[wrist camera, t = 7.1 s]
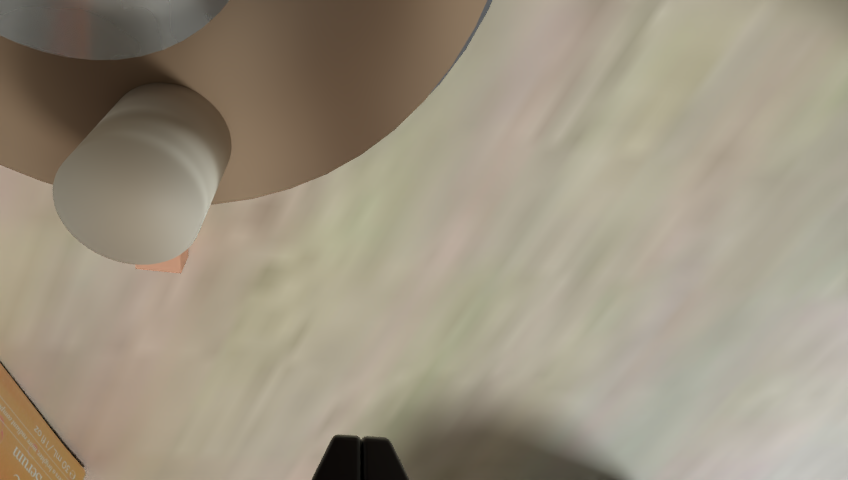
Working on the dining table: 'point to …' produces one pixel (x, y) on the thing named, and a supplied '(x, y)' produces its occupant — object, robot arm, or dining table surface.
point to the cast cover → (104, 25)
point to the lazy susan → (219, 112)
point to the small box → (30, 440)
